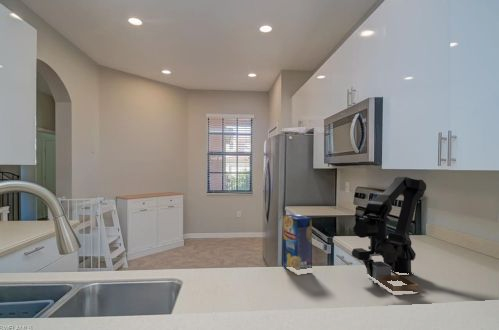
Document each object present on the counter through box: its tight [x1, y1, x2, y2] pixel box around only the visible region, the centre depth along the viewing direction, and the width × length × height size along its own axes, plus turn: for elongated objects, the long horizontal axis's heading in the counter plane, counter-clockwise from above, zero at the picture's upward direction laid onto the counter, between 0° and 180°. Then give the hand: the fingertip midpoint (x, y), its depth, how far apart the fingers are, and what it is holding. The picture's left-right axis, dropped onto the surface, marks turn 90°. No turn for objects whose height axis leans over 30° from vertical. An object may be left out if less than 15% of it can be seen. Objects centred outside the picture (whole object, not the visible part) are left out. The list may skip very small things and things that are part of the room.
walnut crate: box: [377, 274, 420, 292], centre depth 100 cm, size 9×9×3 cm
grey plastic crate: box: [366, 260, 392, 280], centre depth 108 cm, size 6×6×6 cm
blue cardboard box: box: [282, 213, 313, 270], centre depth 119 cm, size 7×11×22 cm, turn 23°
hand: (378, 276), depth 108 cm, fingers closed on grey plastic crate, 6 cm apart
